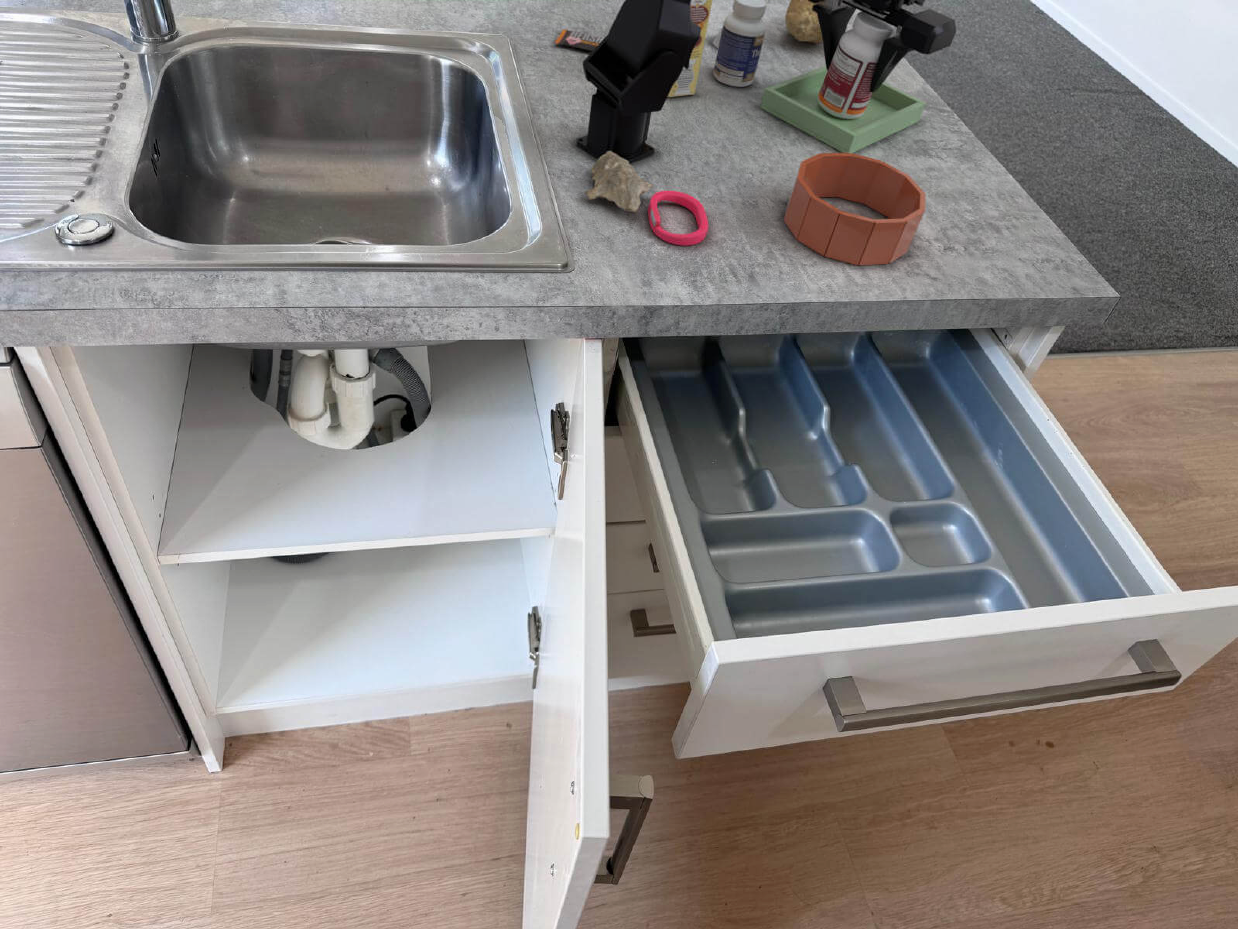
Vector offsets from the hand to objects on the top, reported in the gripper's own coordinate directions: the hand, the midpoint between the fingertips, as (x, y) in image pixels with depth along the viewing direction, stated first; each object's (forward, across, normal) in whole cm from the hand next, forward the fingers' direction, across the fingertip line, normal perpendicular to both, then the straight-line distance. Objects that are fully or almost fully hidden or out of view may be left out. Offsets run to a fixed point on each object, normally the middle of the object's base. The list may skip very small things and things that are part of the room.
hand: (851, 80), depth 109 cm
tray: (+4, 0, 0) cm, 4 cm away
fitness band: (+3, -5, +37) cm, 37 cm away
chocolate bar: (+4, +29, +15) cm, 33 cm away
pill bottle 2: (+4, 0, 0) cm, 4 cm away
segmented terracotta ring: (+4, -16, +22) cm, 27 cm away
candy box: (+5, +18, +14) cm, 23 cm away
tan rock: (+4, +17, -16) cm, 24 cm away
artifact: (+3, -2, +41) cm, 42 cm away
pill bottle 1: (+5, +14, +5) cm, 16 cm away
